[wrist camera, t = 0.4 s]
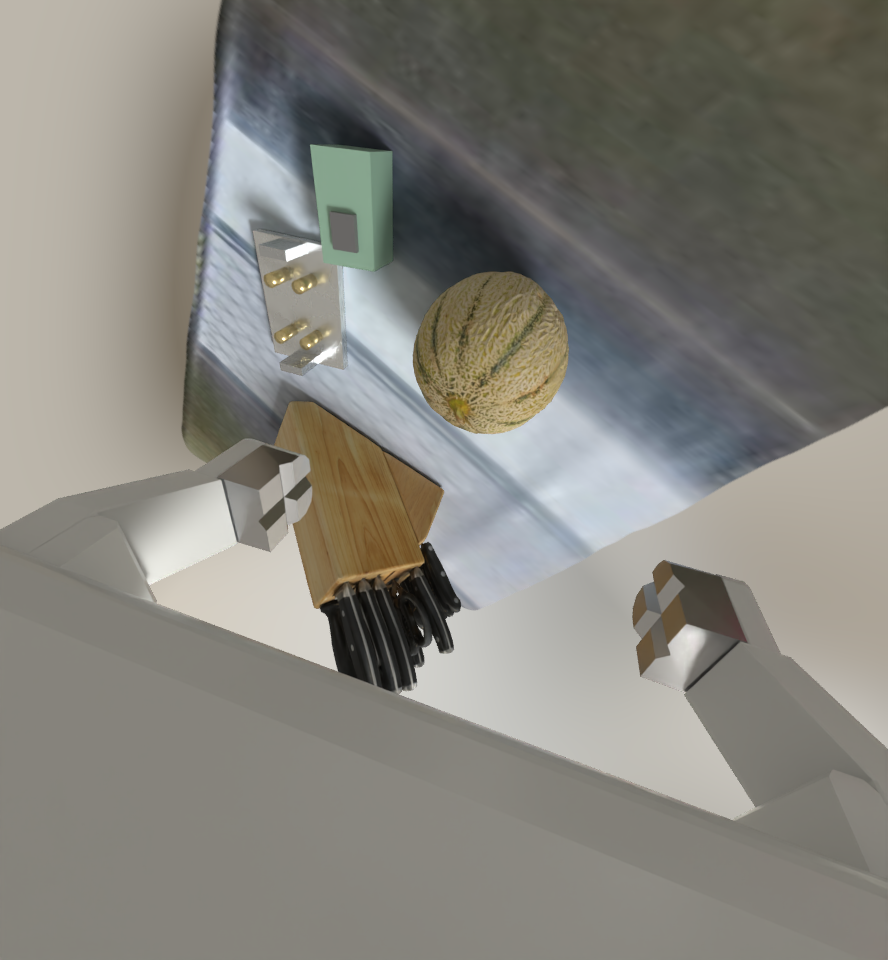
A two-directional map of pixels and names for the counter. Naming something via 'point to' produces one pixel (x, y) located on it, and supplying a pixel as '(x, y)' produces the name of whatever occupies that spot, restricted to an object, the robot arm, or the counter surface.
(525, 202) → the counter surface
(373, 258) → the green box
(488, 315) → the cantaloupe
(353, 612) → the knife block
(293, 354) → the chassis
